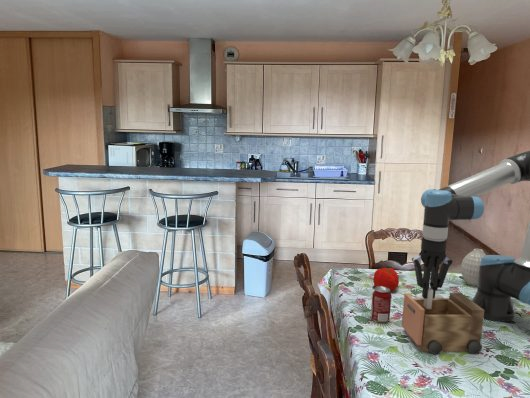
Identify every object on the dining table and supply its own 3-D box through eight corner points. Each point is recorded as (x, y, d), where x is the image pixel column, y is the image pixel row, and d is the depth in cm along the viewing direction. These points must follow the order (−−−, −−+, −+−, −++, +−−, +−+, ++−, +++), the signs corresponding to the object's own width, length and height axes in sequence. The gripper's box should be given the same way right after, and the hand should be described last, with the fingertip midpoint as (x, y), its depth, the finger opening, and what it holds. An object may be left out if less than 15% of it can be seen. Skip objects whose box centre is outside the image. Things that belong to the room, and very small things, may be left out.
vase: (455, 278, 201) (459, 244, 198) (483, 280, 200) (487, 246, 197) (464, 288, 189) (468, 252, 186) (494, 290, 187) (499, 254, 184)
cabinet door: (404, 325, 145) (407, 293, 143) (421, 345, 133) (424, 309, 131) (400, 326, 145) (403, 293, 143) (416, 345, 132) (419, 309, 130)
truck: (454, 328, 149) (458, 291, 147) (482, 353, 132) (487, 312, 130) (402, 328, 148) (406, 291, 146) (424, 354, 131) (428, 312, 128)
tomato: (384, 295, 177) (386, 275, 176) (367, 285, 188) (368, 266, 187) (404, 292, 182) (406, 272, 180) (386, 282, 192) (387, 264, 191)
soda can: (390, 324, 150) (392, 293, 148) (370, 322, 152) (373, 291, 150) (388, 316, 157) (391, 286, 155) (370, 314, 158) (372, 284, 156)
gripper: (448, 235, 138) (440, 302, 142) (409, 235, 137) (403, 302, 141) (459, 241, 131) (452, 312, 134) (419, 241, 130) (413, 312, 133)
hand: (427, 307), depth 138 cm, fingers closed
